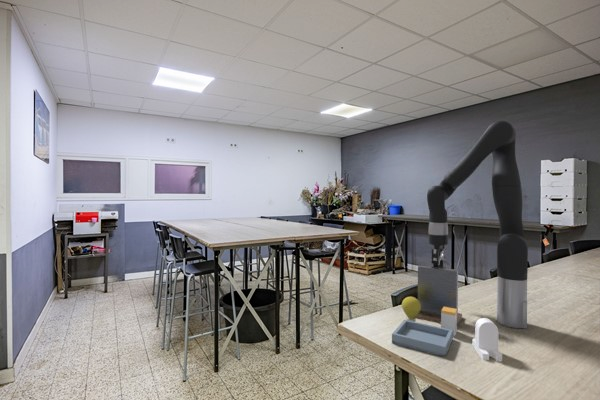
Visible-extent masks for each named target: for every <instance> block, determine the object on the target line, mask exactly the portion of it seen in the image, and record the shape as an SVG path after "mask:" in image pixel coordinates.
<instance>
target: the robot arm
mask: <svg viewBox="0 0 600 400" xmlns="http://www.w3.org/2000/svg"><path fill="white" fill-rule="evenodd" d="M516 137H517V135H516V129H515V128H514V126H513V125H512V124H511V123H510V122H508V121H505V120H498V121H495V122H493V123H491V124H490V125H489V126H488V127H487V128H486V130H485V131H484V133H482V135H481V136H480V137H479V139H478V140H477V141H476V142H475V144H474V145H473V147H472V148H471V149H470V150H469V151H468V152H466V154H465V155H464V156H463V157H462V158H461V159H460V160H458V162H457V163H456V164H454V165H453V167H451V169H450V170H448V172H447V173H445V175H444V176H443V180H441V181H440V183H438V185H433V186H431V187H430V188H429V189H428V190H427V194H426V200H427V201H426V202H427V207H428V211H429V213H428V219H429V220H428V244H429V245H431V246H433V248H431V264H432V265H433V266H432V267H438V268H444V260H445V258H446V257H445V252H446V251H445V246H447V245H449V226H448V225H449V224H448V211H447V209H446V206H445V205H446V204H445V203H446V200H448V199H449V198H450V197H451V196H452V195H453V194H454V192H455V191H456V190H457V189H458V188H459V187H460V186H461V185H462V184H463V183H464V182H466V181H467V179H468V178H470V177H471V175H472V174H473V173H474V172H475V171H476V170H477V169H478V168H479V166H480V165H481V163H483V161H484V160H485V159H486V158H487V157H489V156H490V155H491V154H492V162H493V163H492V174H491V189H492V190H491V191H492V198H493V203H494V207H495V211H496V214H497V216H498V221H499V241H498V242H497V247H496V249H497V250H496V252H497V253H496V261H497V262H496V265H497V266H496V270H497V287H496V288H497V290H496V291H497V294H496V296H497V297H496V299H497V300H496V301H497V304H496V306H497V307H496V310H497V311H496V321H497V323H499V324H500V325H503V326H505V327H509V328H513V329H528V270H529V269H528V266H529V265H528V263H529V262H528V255H529V254H528V251H529V250H528V249H529V245H528V241H527V238H526V233H525V230H524V224H523V191H522V190H523V189H522V181H521V177H520V173H519V167H518V164H517V159H516Z"/></svg>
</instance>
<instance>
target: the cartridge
mask: <svg viewBox="0 0 600 400" xmlns="http://www.w3.org/2000/svg"><path fill="white" fill-rule="evenodd" d="M440 328H445V329H450V330H453V337H455V336H456V335H457V332H458V326H457V309H454V308H449V307H443V308H442V310H441V323H440Z"/></svg>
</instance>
